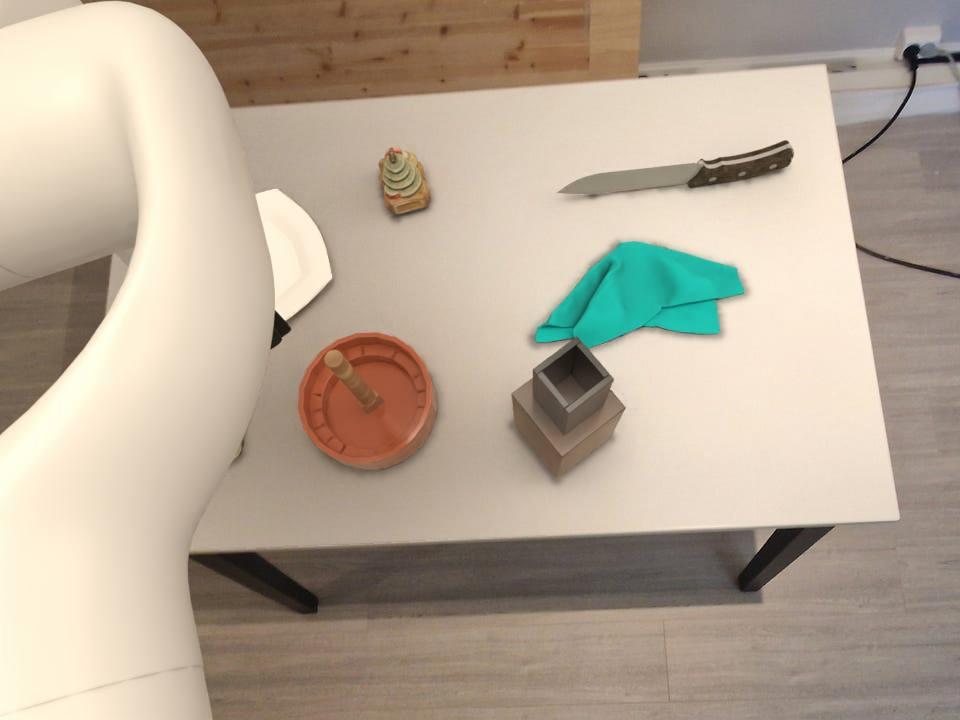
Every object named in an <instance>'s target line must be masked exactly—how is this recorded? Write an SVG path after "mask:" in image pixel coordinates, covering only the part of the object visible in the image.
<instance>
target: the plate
mask: <svg viewBox="0 0 960 720" xmlns="http://www.w3.org/2000/svg"><path fill="white" fill-rule="evenodd" d="M255 196H256V200H257V204H258V208H259V212H260V216H261V220H262V224H263V228H264V232H265V237H266V241H267V245H268V248H269V252H270V257H271V263H272V269H273V275H274V288H275V310H276V311H277V312H278V313H279V314H280V316H281V317H282V318H283V319H284V320H285V321H286V322H287V321H288V320H289V319H291V318H292V317H293V316H295V315H296V314H298V313H299V312H300V311H301V310H302V309H303V308H304V307H305V306H307V305H308V304H309V303H310V302H312V300H313V299H314V298H315V297H316V296H317V295H318V294H319V293H321V291H322V290H324V289H325V287H326V286H327V285H328V284H329V283H330V282H331V281H332V279H333V273H332V267H331V264H330V260H329V255H328V250H327V247H326V244H325V241H324V239H323V235H322V233H321V232H320V230H319V228H318V226H317V224H316V223H315V222H314V220H313V219H312V218H311V216H310V215H309V214H308V213H307V212H306V211H305V210H304V209H303V208H302V207H301V206H300V205H299V204H298V203H296V202H295V201H294V200H293V199H292V198H290V197H289V196H287V195H286V194H285V193H283V192H282V191H281V190H279V189H278V188H277V187H276V188H272V189H268V190H265V191H260V192H258V193H255Z"/></svg>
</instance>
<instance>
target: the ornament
mask: <svg viewBox="0 0 960 720" xmlns="http://www.w3.org/2000/svg"><path fill="white" fill-rule="evenodd" d="M378 168H379V172H380V174H379V176H378V177H379V182H380V185H381V187H382V190H383V199H384V203H385V205H386V207H387V208H388V210H390V211H391V212H392V214H394V215H396V216H397V215H402V214H406V213H411V212H414V211H419V210H422V209H426V208H427V207H428V206H429V203H430V201H429V200H430V198H431V192H430V189H429V186H428V183H427V181H425V179H426V178H425V173H424V168H423V165H422V163H421V162H420V161H419V159H418V157H417V155H416V154H415V153H414V152H412V151H408V150H403V149H401V148H400V147H398V146H394V147H390V148H388V149H386V150H385V152H384V156H383V157H382V158H381V159H380V160H379V161H378Z"/></svg>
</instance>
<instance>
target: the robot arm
mask: <svg viewBox="0 0 960 720" xmlns="http://www.w3.org/2000/svg"><path fill="white" fill-rule="evenodd" d="M255 194H256V193H255V187H254V184H253V181H252V177H251V173H250V169H249V165H248V161H247V157H246V153H245V149H244V146H243V142H242V139H241V136H240V132H239V129H238V126H237V123H236V120H235V117H234V114H233V112H232V109H231V107H230V104H229V101H228V99H227V96H226V94H225V91H224V89H223V87H222V85H221V83H220V81H219V79H218V77H217V75H216V73H215V71H214V69H213V67H212V66H211V64H210V62H209V61H208V59H207V58H206V56H205V55H204V53H203V52H202V51H201V49H200V48H199V47H198V45H197V44H196V43H195V42H194V40H193V39H192V38H191V37H190V36H189V35H188V34H187V33H186V32H185V31H184V30H183V29H182V28H181V27H180V26H179V25H177V24H176V22H174V21H172V20H171V19H170V18H168V17H167V16H165V15H163V14H162V13H160V12H158V11H157V10H155V9H153V8H150V7H147V6H143V5H141V4H136V3H133V2H130V1H122V0H104V1H102V0H101V1H96V2H95V1H94V2H87V3H83V2H82V1H81V0H0V292H2V291H5V290H8V289H11V288H14V287H16V286H19V285H23V284H25V283H29V282H31V281H34V280H37V279H40V278H43V277H47V276H49V275H53V274H56V273H58V272H62V271H65V270H68V269H72V268H75V267H78V266H81V265H84V264H88V263H90V262H94V261H97V260H99V259H102V258H106V257H108V256H111V255H114V254H115V255H116V256H117V257H118V258H119V259H120V260H121V261H122V262H123V263H124V265H126V267H127V270H126V273H125V276H124V279H123V282H122V284H121V286H120V288H119V290H118V292H117V293H116V296H115V298H114V300H113V301H112V304H111V306H110V307H109V309H108V312H107V314H106V315H105V317H104V318H103V320H101V322H100V324H99V325H98V327H97V328H96V330H95V332H94V333H93V335H91V337H90V339H89V340H88V341H87V343H86V345H85V346H84V347H83V349H82V350H81V351H80V352H79V354H78V355H77V356H76V357H75V358H74V360H72V362H71V363H70V364H69V365H68V367H67V368H66V369H65V370H64V371H63V372H62V374H61V375H60V376H59V378H58V379H57V380H56V381H55V382H54V383H53V384H52V385H50V387H49V388H48V389H47V390H46V391H45V392H44V393H43V394H42V395H41V396H40V397H39V398H38V399H37V400H36V401H35V402H34V403H33V404H32V405H31V406H30V408H28V410H26V411H25V412H24V413H23V414H22V415H20V417H19V418H18V419H16V420H15V421H14V422H13V423H12V424H11V425H10V426H8V427H7V428H6V429H5V430H4V431H3V432H1V434H0V720H214V717H213V712H212V707H211V701H210V698H209V697H210V696H209V692H208V686H207V682H206V677H205V671H204V668H205V665H204V664H205V663H204V661H203V660H204V659H203V655H202V649H201V644H200V641H199V635H198V630H197V624H196V620H195V615H194V609H193V604H192V601H191V592H190V585H189V556H190V549H191V546H192V542H193V538H194V536H195V533H196V530H197V528H198V526H199V523H200V522H201V520H202V518H203V515H204V514H205V512H206V510H207V508H208V506H209V504H210V503H211V502H212V499H213V498H214V496H215V494H216V492H217V491H218V489H219V487H220V485H221V483H222V481H223V480H224V478H225V476H226V474H227V472H228V470H229V468H230V467H231V464H232V463H233V461H234V460H235V459H234V457H235V454H236V452H237V450H238V448H239V446H240V444H241V442H242V443H243V440H244V438H245V434H246V432H247V430H248V427H249V425H250V422H251V419H252V417H253V413H254V411H255V407H256V405H257V402H258V399H259V396H260V392H261V389H262V385H263V382H264V378H265V374H266V371H267V366H268V361H269V357H270V353H271V351H272V350H273V349H274V348H276V347H277V346H278V345H280V344H281V342H282V340H283V337H285V336H287V335H288V334H289V333H290V332H291V331H292V328H291V326H290V325H289V322H287V320H286V321H285V320H284V319H283V318H282V317H281V316H280V314H279V313H278V312H277V311H276V310H275V288H274V275H273V269H272V263H271V257H270V252H269V248H268V245H267V241H266V237H265V232H264V228H263V224H262V220H261V216H260V212H259V208H258V204H257V200H256V196H255ZM233 459H234V460H233Z"/></svg>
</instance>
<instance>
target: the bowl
mask: <svg viewBox="0 0 960 720" xmlns="http://www.w3.org/2000/svg"><path fill="white" fill-rule="evenodd" d="M331 350H338V351H340V352H341V353H342V355H343V356H344V357H345V358H346V359H347V361H348V362H349V363H350V364H351V366H352V367H353V368H354V369H355V371H356V372H357V373H358V374H359V375H360V377H361V378H362V379H363V380H364V382H365V383H366V384H367V385H368V387H369V388H370V389H371V390H372V391H373V390H375V391H376V392H377V393H378V394H379V396H380V397H381V398H382V400H383V401H384V403H382V404H381V405H379V406H378V407H377V408H375V409H374V410H373V411H371V412H370V413H368V414H367V413H366V412H365V411H364V409H363V408H362V407H361V406H360V404H359V403H358V401H359V400H358V399H357V398H356V396H355V395H354V394H353V393H352V392H351V391H350V390H349V389H348V388H347V387H346V386H345V385H344V383H343V382H342V381H341V380H340V379H339V378H338V377H337V376H336V375H335V374H334V373H333V372H332V370H331V369H330V368H329V367H328V366H327V365H326V364H325V361H324V359H325V355H326V354H327V353H328V352H329V351H331ZM298 388H299V390H298V401H297V402H298V404H297V409H298V413H299V418H300V421H301V425H302V428H303V430H304V432H305V433H306V434H307V435H308V437H309V438H310V440H311V442H312V443H313V444H314V445H315V446H316V447H317V448H319V449H320V450H321V451H323V452H324V453H325V454H327V455H328V456H329V457H331V458H333V459H334V460H336V461H337V462H338V463H340V464H342V465H344V466H348V467H351V468H354V469H357V470H361V471H363V470H365V471H368V470H384V469H387V468H390V467H392V466H395V465H399V464H400V463H402V462H404V461H405V460H407V459H408V458H409V457H411V456H412V455H413V454H414V453H416V452H417V451H419V450H420V448H421V447H422V445H423V444H424V443H425V441H426V440H427V439H428V437H429V436H430V434H431V432H432V429H433V426H434V423H435V420H436V417H437V413H438V411H437V409H438V405H437V403H438V398H437V397H438V395H437V391H436V388H435V385H434V381H433V379H432V376H431V374H430V372H429V370H428V368H427V366H426V363H425V362H424V361H423V359H422V358H421V357H420V356H419V354H418V353H417V352H416V350H415V349H414V348H413V347H411V346H410V345H409V344H407V343H405V342H404V341H402V340H401V339H400V338H398V337H396V336H393V335H390V334H389V335H388V334H385V333H381V332H374V331H373V332H356V333H353V334H350V335H347V336H344V337H341V338H338V339H336V340H335V341H333V342H332V343H330V344H329V345H328V346H326V347H325V348H323V349H322V350H321V351H319V352H318V354H317V355H316V356H315V358H314V359H313V360H312V361H311V363H310V364H309V365H308V366H307V368H306V370H305V372H304V375H303V378H302V380H301V382H300V385H299V387H298Z"/></svg>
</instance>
